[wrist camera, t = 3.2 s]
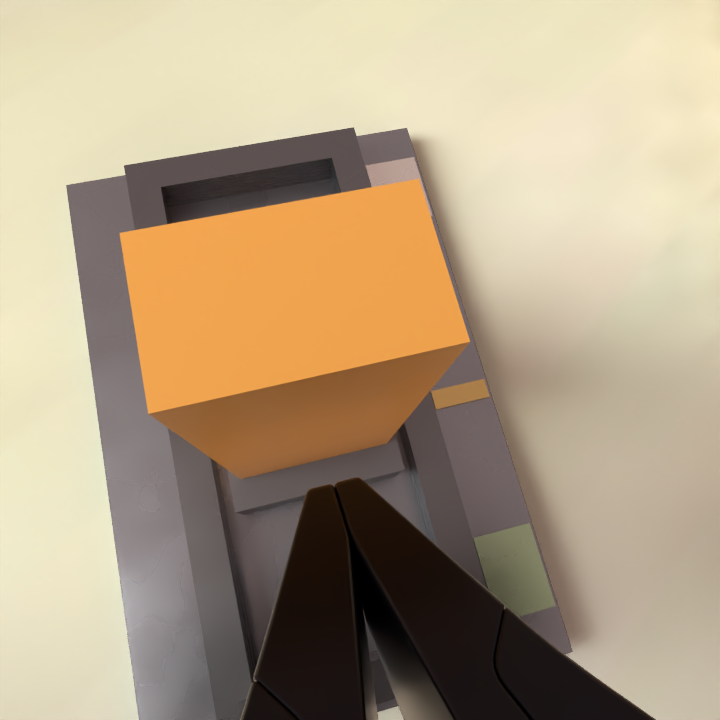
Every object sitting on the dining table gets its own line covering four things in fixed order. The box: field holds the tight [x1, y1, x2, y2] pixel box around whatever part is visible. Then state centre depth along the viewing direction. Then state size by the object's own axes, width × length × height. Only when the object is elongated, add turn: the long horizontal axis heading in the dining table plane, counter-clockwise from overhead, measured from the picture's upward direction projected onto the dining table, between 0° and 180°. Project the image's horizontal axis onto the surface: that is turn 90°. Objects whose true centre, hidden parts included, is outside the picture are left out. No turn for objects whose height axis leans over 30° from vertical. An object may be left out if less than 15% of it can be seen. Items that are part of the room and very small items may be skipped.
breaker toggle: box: [120, 179, 470, 515], centre depth 13 cm, size 4×5×11 cm
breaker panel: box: [66, 128, 573, 720], centre depth 18 cm, size 18×12×2 cm, turn 14°
